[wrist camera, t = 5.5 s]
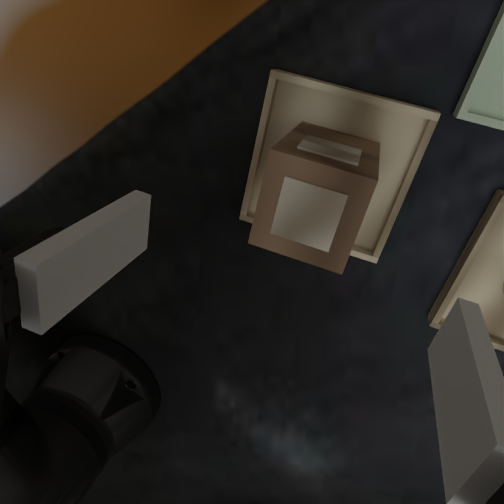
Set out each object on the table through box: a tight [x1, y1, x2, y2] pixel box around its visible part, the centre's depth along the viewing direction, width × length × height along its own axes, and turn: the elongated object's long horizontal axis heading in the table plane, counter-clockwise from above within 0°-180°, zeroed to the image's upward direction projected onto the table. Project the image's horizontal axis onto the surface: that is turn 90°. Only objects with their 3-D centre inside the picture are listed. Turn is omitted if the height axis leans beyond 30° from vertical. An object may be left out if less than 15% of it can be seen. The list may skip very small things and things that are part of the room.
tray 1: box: [239, 69, 441, 263], centre depth 31 cm, size 12×12×2 cm
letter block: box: [248, 121, 380, 274], centre depth 27 cm, size 6×6×10 cm
